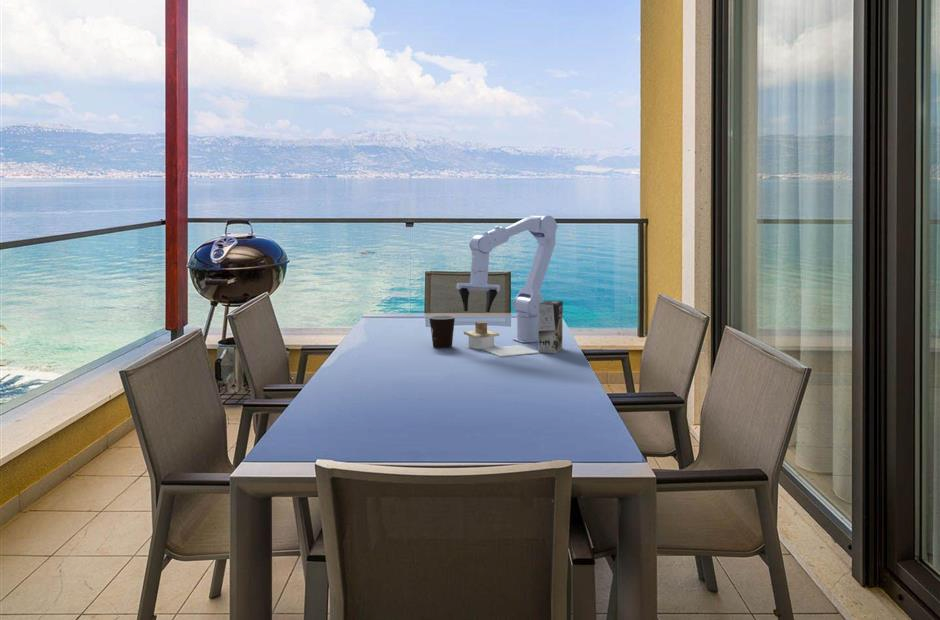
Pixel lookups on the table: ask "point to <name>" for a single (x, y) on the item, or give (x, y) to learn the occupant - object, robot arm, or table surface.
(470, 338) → the bowl
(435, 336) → the coffee mug
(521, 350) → the mat
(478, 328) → the cover
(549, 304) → the coffee box
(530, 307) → the robot arm
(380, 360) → the table surface
